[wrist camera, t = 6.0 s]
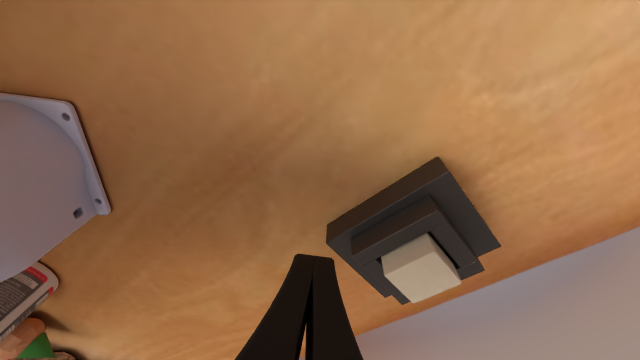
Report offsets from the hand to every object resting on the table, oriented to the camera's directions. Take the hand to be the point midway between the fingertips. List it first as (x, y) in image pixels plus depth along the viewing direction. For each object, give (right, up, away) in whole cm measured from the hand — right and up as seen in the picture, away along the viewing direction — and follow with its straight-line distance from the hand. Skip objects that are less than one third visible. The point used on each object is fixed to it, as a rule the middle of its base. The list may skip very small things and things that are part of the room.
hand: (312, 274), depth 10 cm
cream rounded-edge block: (+7, -2, +9) cm, 11 cm away
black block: (+7, 0, +12) cm, 14 cm away
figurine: (-40, -9, +19) cm, 45 cm away
